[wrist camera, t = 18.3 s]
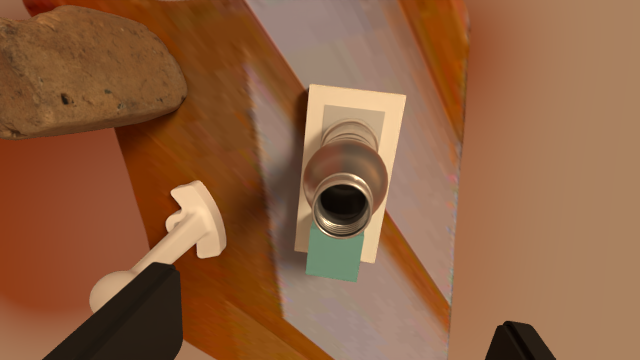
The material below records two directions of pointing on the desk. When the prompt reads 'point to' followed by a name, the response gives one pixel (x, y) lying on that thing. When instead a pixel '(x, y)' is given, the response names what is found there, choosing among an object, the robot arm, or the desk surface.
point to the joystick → (173, 239)
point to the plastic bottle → (345, 179)
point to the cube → (333, 256)
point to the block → (82, 74)
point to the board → (337, 105)
